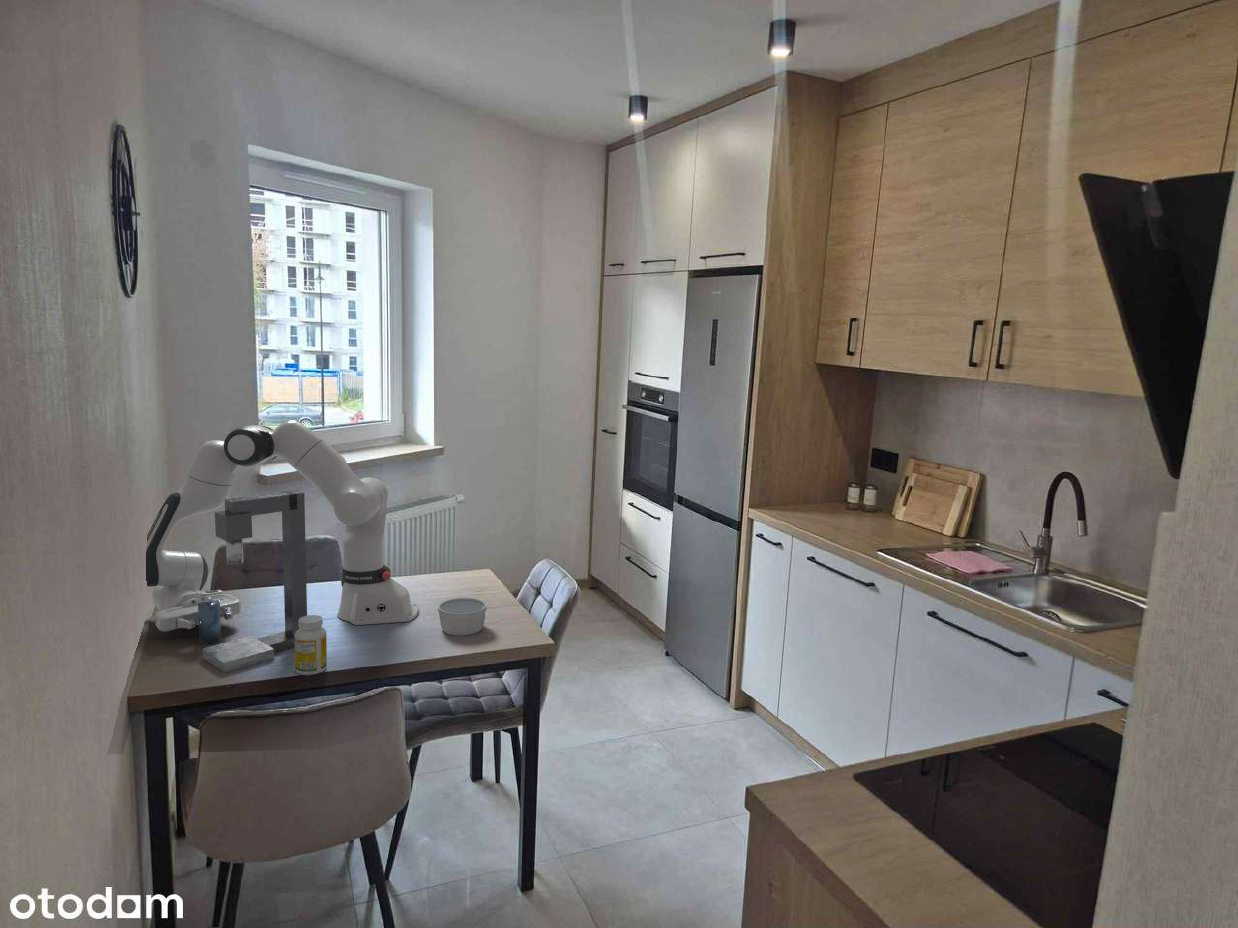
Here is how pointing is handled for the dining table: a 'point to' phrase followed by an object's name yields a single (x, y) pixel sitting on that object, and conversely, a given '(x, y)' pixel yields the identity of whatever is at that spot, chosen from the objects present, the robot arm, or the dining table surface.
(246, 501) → the press
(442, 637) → the dining table surface
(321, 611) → the dining table surface
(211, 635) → the blue bottle with knob
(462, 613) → the ramekin
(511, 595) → the dining table surface
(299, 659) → the supplement bottle
